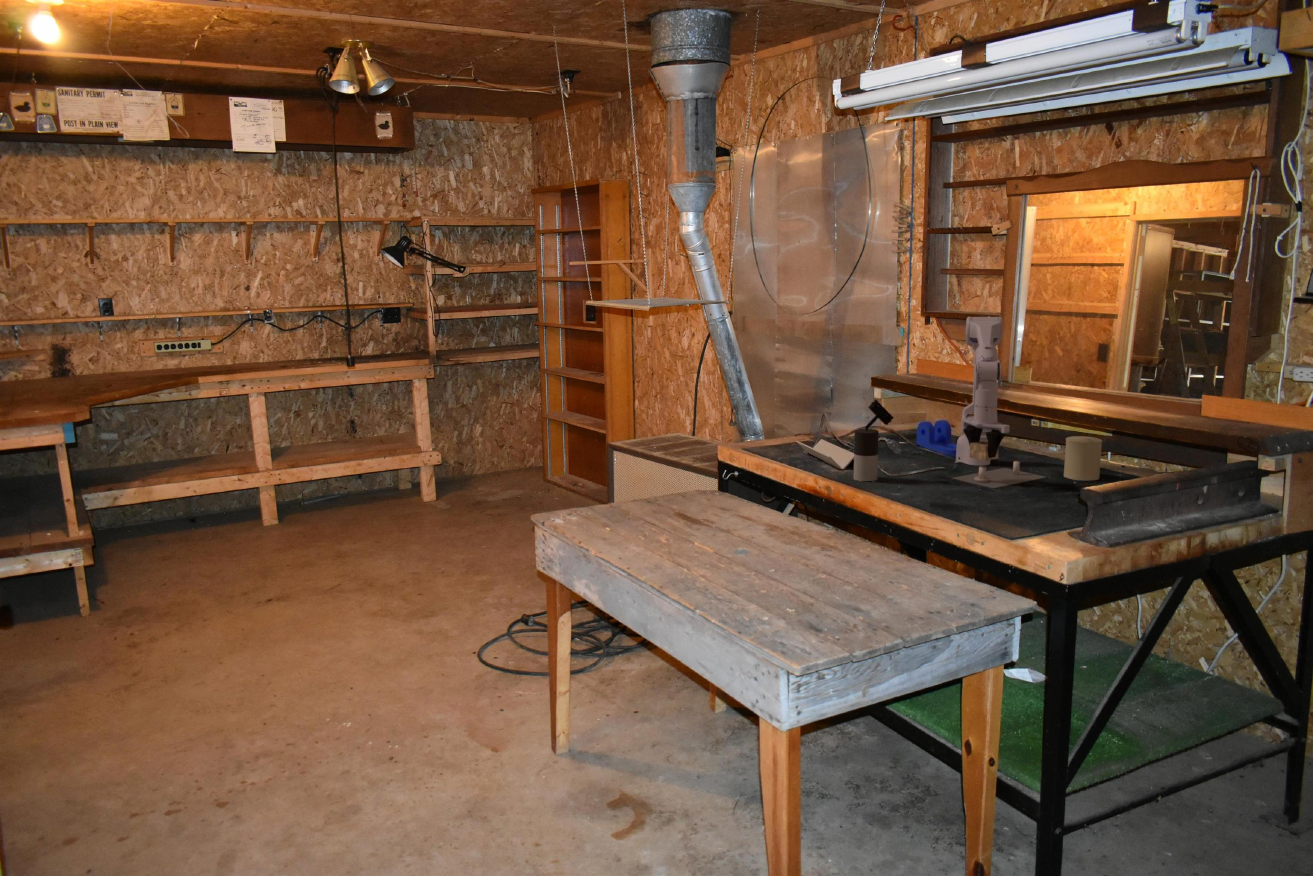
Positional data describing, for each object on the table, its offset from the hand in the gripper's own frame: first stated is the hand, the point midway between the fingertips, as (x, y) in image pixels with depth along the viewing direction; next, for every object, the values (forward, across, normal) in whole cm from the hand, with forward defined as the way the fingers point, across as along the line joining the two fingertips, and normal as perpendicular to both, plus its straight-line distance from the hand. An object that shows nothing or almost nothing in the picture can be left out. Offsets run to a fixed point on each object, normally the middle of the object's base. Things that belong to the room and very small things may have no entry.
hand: (983, 455), depth 250 cm
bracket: (+8, -37, +26) cm, 46 cm away
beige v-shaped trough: (+9, -46, -13) cm, 49 cm away
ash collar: (+1, 0, 0) cm, 1 cm away
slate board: (+8, 0, +7) cm, 11 cm away
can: (+8, +12, +26) cm, 30 cm away
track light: (+8, -22, -19) cm, 30 cm away
